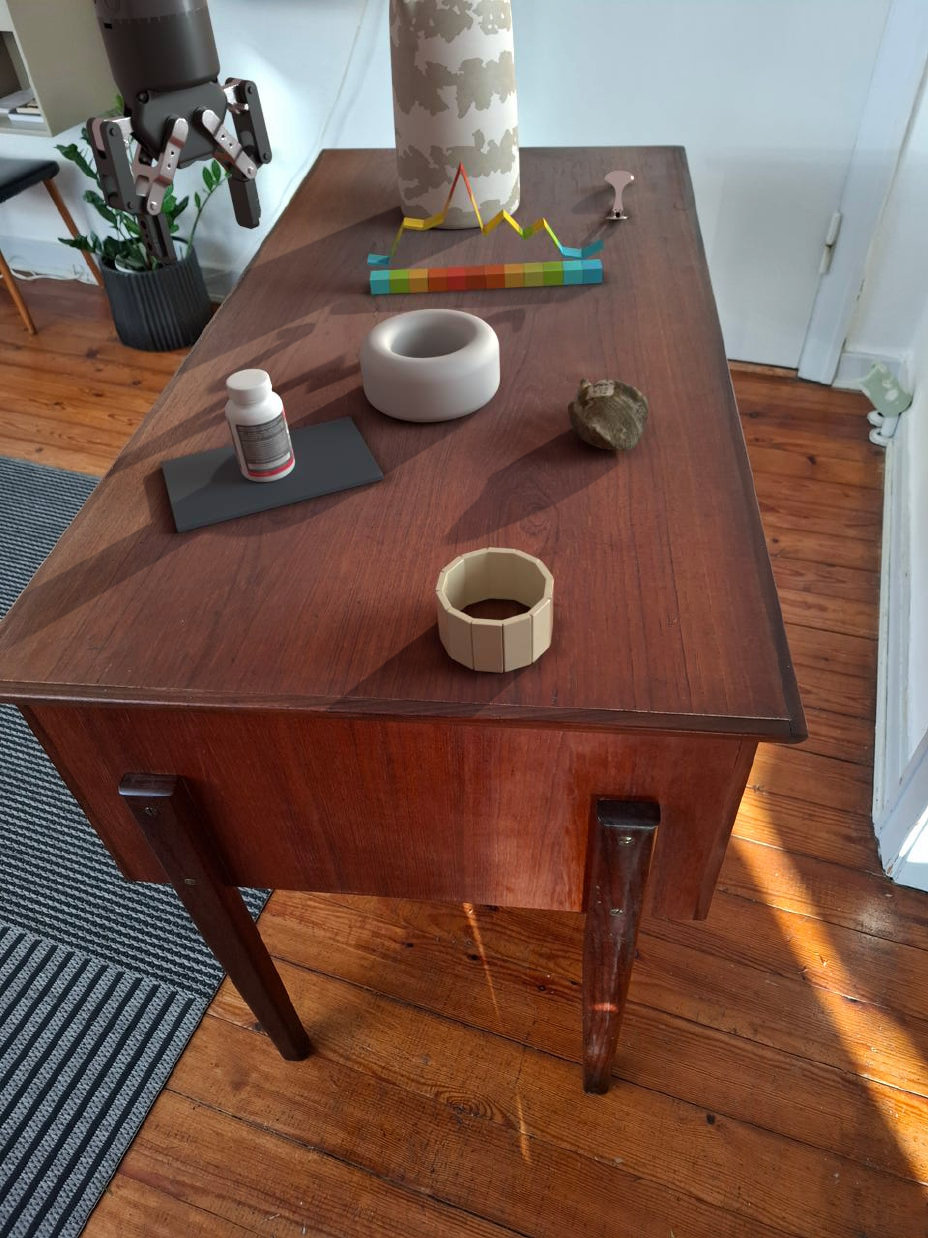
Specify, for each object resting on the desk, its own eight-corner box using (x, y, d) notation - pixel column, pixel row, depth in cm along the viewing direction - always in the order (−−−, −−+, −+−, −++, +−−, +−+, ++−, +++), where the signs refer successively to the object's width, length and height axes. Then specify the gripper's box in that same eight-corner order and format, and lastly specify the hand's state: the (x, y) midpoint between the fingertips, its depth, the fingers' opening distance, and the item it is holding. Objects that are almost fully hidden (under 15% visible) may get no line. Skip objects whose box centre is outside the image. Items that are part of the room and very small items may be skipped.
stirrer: (635, 202, 126) (602, 202, 127) (633, 228, 128) (600, 228, 129) (635, 165, 141) (605, 165, 142) (633, 189, 143) (603, 189, 144)
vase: (454, 180, 149) (438, -115, 123) (544, 201, 140) (547, -113, 113) (369, 218, 138) (330, -96, 112) (459, 243, 129) (440, -93, 103)
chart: (599, 272, 119) (605, 151, 109) (601, 282, 117) (608, 159, 107) (373, 284, 120) (358, 165, 110) (371, 294, 118) (355, 173, 108)
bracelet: (464, 685, 67) (460, 638, 63) (426, 612, 73) (420, 565, 70) (570, 651, 69) (572, 604, 65) (524, 582, 75) (524, 536, 72)
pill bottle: (307, 463, 89) (288, 374, 82) (268, 490, 86) (245, 399, 79) (269, 447, 91) (248, 359, 84) (230, 472, 88) (205, 383, 81)
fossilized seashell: (571, 381, 94) (547, 446, 88) (604, 339, 88) (582, 405, 83) (630, 418, 95) (611, 483, 90) (667, 378, 90) (648, 445, 84)
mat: (178, 533, 83) (176, 527, 82) (162, 466, 91) (160, 461, 90) (383, 479, 87) (383, 474, 87) (350, 420, 95) (350, 415, 95)
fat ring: (438, 345, 107) (434, 291, 102) (528, 388, 98) (528, 331, 94) (338, 393, 100) (328, 337, 95) (425, 443, 91) (419, 384, 87)
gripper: (198, -18, 67) (245, 208, 78) (28, 17, 59) (107, 263, 70) (265, -12, 63) (304, 224, 74) (93, 26, 55) (165, 284, 66)
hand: (208, 243), depth 72 cm, fingers open, 8 cm apart
